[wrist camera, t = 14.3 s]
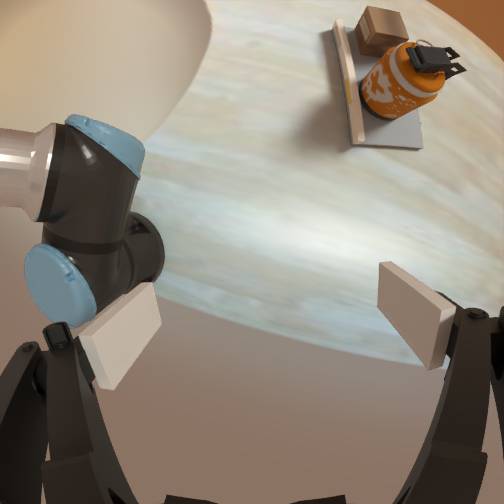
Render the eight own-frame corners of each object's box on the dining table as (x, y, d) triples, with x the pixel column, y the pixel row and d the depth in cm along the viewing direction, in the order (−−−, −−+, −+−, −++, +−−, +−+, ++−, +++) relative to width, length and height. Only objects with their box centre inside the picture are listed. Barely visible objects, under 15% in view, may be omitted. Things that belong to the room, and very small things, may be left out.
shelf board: (349, 144, 41) (356, 140, 38) (330, 29, 36) (334, 18, 32) (420, 148, 40) (431, 146, 36) (397, 38, 35) (405, 30, 31)
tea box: (359, 54, 36) (375, 31, 27) (353, 30, 35) (366, 5, 26) (389, 59, 36) (409, 38, 27) (382, 34, 34) (399, 12, 26)
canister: (350, 78, 38) (392, 20, 18) (401, 73, 36) (458, 28, 17) (367, 124, 39) (426, 88, 20) (418, 117, 38) (487, 89, 18)
